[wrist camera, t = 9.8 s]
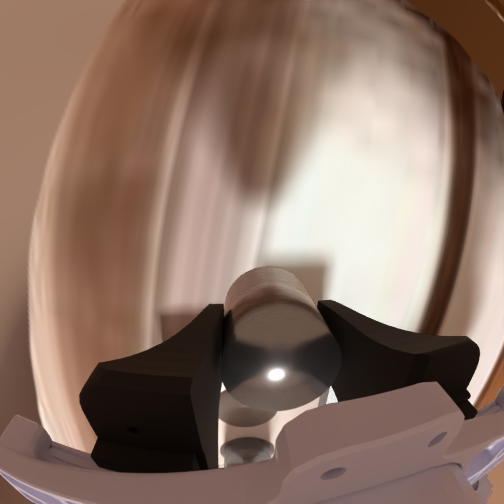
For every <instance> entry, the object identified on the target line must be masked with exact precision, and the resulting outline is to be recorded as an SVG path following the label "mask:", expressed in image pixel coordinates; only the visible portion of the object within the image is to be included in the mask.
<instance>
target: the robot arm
mask: <svg viewBox="0 0 504 504" xmlns="http://www.w3.org/2000/svg"><path fill="white" fill-rule="evenodd" d="M317 308H318V310H319V312H320V313H321V315H322V317H323V318H324V320H325V322H326V323H327V325H328V327H329V328H330V330H331V332H332V334H333V335H334V337H335V339H336V340H337V342H338V344H339V346H340V350H341V356H342V361H341V367H340V371H339V373H338V375H337V377H336V379H335V381H334V382H333V384H332V385H331V386H332V388H333V390H334V392H335V395H336V397H337V400H338V402H336V403H330V404H326V405H323V406H320V407H317V408H313V409H310V410H306V411H304V412H303V413H301V414H300V415H298V416H297V417H295V418H294V419H292V420H291V421H289V422H288V423H286V424H285V425H284V426H283V428H282V429H281V431H280V433H279V435H278V436H277V438H276V441H275V450H274V455H273V457H272V459H267V460H263V461H258V462H253V463H248V464H243V465H237V466H231V467H225V468H218V424H219V402H220V395H221V388H222V379H221V356H222V341H223V328H224V304H209V305H208V306H207V307H206V308H205V309H204V310H203V311H202V312H201V313H200V314H199V315H198V316H197V317H196V318H195V319H194V320H193V321H192V322H191V323H190V324H188V325H187V326H186V327H185V328H184V329H182V330H181V331H180V332H179V333H177V334H176V335H174V336H173V337H171V338H170V339H168V340H166V341H165V342H163V343H161V344H159V345H157V346H155V347H152V348H150V349H148V350H146V351H143V352H141V353H138V354H135V355H132V356H129V357H125V358H121V359H116V360H112V361H107V362H101V363H98V365H97V366H96V368H95V369H94V370H93V372H92V374H91V375H90V377H89V378H88V380H87V382H86V383H85V385H84V387H83V388H82V390H81V392H80V395H79V399H80V405H81V408H82V410H83V412H84V414H85V416H86V418H87V420H88V421H89V423H90V425H91V427H92V428H93V430H94V432H95V434H96V435H97V437H98V439H97V441H96V443H95V446H94V448H93V451H92V453H91V454H89V453H86V452H83V451H80V450H77V449H73V448H71V447H68V446H65V445H62V444H59V443H57V442H54V441H52V439H51V438H50V436H49V434H48V433H47V431H46V430H45V429H44V428H43V427H42V426H40V425H39V424H37V423H35V422H33V421H31V420H28V419H26V418H24V417H21V416H19V415H15V416H14V418H13V419H12V420H11V422H10V423H9V425H8V426H7V428H6V429H5V431H4V432H3V434H2V435H1V437H0V474H1V475H2V476H3V477H4V478H5V479H6V480H7V481H8V482H9V483H10V484H11V485H12V486H13V487H15V488H16V489H17V490H18V491H19V492H20V493H21V494H22V495H24V496H25V497H26V498H27V499H29V500H30V501H32V502H34V503H36V504H487V502H488V500H489V498H490V496H491V494H492V483H491V481H490V480H489V478H488V475H487V472H489V471H490V470H491V469H492V468H494V467H495V466H496V465H497V464H498V463H500V462H501V461H502V460H503V459H504V385H503V386H502V387H501V389H500V390H499V392H498V394H497V395H496V397H495V400H494V401H492V402H490V403H489V404H487V405H485V406H484V407H482V408H480V409H478V410H476V409H475V408H474V407H473V405H472V404H471V403H470V402H469V401H468V399H469V398H470V396H471V395H470V393H469V392H468V391H467V390H466V389H467V387H468V385H469V383H470V381H471V379H472V377H473V375H474V372H475V370H476V368H477V365H478V363H479V357H480V350H479V347H478V345H477V344H476V343H475V342H474V341H472V340H471V339H470V338H469V337H467V336H436V335H427V334H420V333H415V332H410V331H406V330H402V329H398V328H395V327H392V326H389V325H386V324H383V323H380V322H378V321H376V320H373V319H371V318H369V317H366V316H364V315H362V314H360V313H358V312H356V311H354V310H352V309H350V308H348V307H346V306H344V305H342V304H340V303H338V302H336V301H333V300H321V301H318V304H317ZM477 481H478V482H477ZM476 490H477V491H476ZM475 491H476V492H475Z"/></svg>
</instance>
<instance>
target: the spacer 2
mask: <svg viewBox="0 0 504 504" xmlns="http://www.w3.org/2000/svg"><path fill="white" fill-rule="evenodd" d="M341 361H342V356H341V350H340V346H339V344H338V342H337V340H336V339H335V337H334V335H333V334H332V332H331V330H330V328H329V327H328V325H327V323H326V322H325V320H324V318H323V317H322V315H321V313H320V312H319V310H318V308H317V307H316V305H315V304H314V302H313V300H312V299H311V297H310V295H309V294H308V292H307V290H306V289H305V287H304V285H303V284H302V282H301V281H300V280H299V279H298V278H297V277H296V276H295V275H294V274H292V273H291V272H289V271H287V270H285V269H282V268H278V267H268V266H267V267H259V268H255V269H252V270H250V271H248V272H246V273H244V274H243V275H241V276H240V277H239V278H238V279H237V280H236V281H235V282H234V283H233V284H232V286H231V287H230V289H229V291H228V293H227V296H226V301H225V313H224V328H223V341H222V356H221V379H222V382H223V385H224V387H225V389H226V390H227V392H228V393H229V394H230V395H231V396H232V397H233V398H234V399H235V400H237V401H238V402H239V403H241V404H243V405H245V406H247V407H250V408H253V409H256V410H261V411H272V412H274V411H286V410H291V409H295V408H298V407H301V406H303V405H306V404H308V403H310V402H312V401H314V400H315V399H317V398H318V397H320V396H321V395H322V394H323V393H324V392H326V391H327V390H328V389H329V387H330V386H331V385H332V384H333V382H334V381H335V379H336V377H337V375H338V373H339V371H340V367H341Z"/></svg>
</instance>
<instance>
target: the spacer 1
mask: <svg viewBox="0 0 504 504" xmlns="http://www.w3.org/2000/svg"><path fill="white" fill-rule="evenodd" d="M267 459H272V458H271V450H270V445H269V444H268V443H267V442H266V441H264V440H262V439H258V438H251V437H247V438H238V439H235V440H232V441H230V442H228V443H227V444H226V445H225V447H224V468H225V467H231V466H237V465H243V464H248V463H253V462H258V461H263V460H267Z"/></svg>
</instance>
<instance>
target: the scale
mask: <svg viewBox="0 0 504 504" xmlns="http://www.w3.org/2000/svg"><path fill="white" fill-rule="evenodd" d="M329 388H330V387H329ZM328 393H329V389H328V390H327V391H326V392H324V393H323V394H322V395H321V396H320V397H318V398H317V399H315V400H314V401H312V402H310V403H308V404H306V405H303V406H301V407H298V408H295V409H291V410H286V411H274V412H272V411H261V410H256V409H253V408H250V407H247V406H245V405H243V404H241V403H239V402H238V401H237V400H235V399H234V398H233V397H232V396H231V395H230V394H229V393H228V392H227V390H226V389H225V387H224V385H223V382H222V388H221V395H220V402H219V424H218V465H224V447H225V445H226V444H227V443H228V442H230V441H232V440H235V439H238V438H247V437H251V438H258V439H262V440H264V441H266V442H267V443H268V444H269V445H270V450H271V458H272V457H273V455H274V450H275V441H276V438H277V436H278V435H279V433H280V431H281V429H282V428H283V426H284V425H285V424H286V423H288V422H289V421H291V420H292V419H294V418H295V417H297V416H298V415H300V414H301V413H303V412H304V411H306V410H310V409H313V408H317V407H320V406H323V405H326V401H327V397H328Z"/></svg>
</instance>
